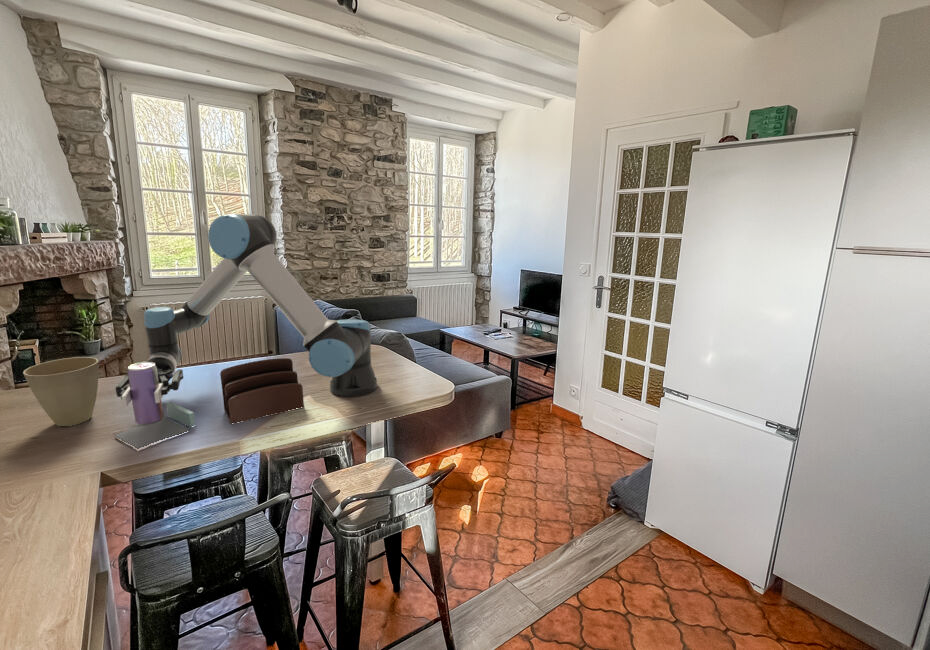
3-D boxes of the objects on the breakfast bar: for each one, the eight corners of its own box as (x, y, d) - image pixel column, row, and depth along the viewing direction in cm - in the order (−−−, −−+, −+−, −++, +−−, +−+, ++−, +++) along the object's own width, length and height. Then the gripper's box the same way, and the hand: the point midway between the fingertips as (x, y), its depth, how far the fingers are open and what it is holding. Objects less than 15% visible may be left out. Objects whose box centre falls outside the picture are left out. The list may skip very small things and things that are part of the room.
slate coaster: (189, 431, 118) (189, 429, 118) (137, 451, 108) (137, 448, 108) (166, 420, 124) (165, 417, 124) (115, 437, 114) (114, 435, 114)
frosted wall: (195, 426, 121) (193, 412, 120) (191, 427, 120) (189, 414, 119) (172, 415, 127) (170, 402, 126) (167, 416, 126) (165, 403, 125)
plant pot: (100, 404, 133) (90, 353, 129) (114, 419, 124) (104, 365, 120) (31, 421, 122) (18, 366, 118) (42, 439, 113) (28, 379, 109)
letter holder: (224, 412, 130) (218, 366, 127) (294, 397, 142) (291, 354, 138) (230, 425, 122) (225, 376, 119) (304, 408, 134) (301, 363, 130)
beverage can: (150, 427, 112) (142, 370, 108) (129, 425, 113) (120, 368, 109) (169, 417, 118) (162, 362, 114) (149, 414, 118) (141, 360, 115)
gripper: (198, 377, 134) (187, 408, 113) (121, 385, 126) (94, 420, 106) (195, 353, 132) (184, 380, 111) (116, 360, 124) (89, 390, 104)
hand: (140, 399), depth 109 cm, fingers closed on beverage can, 6 cm apart
